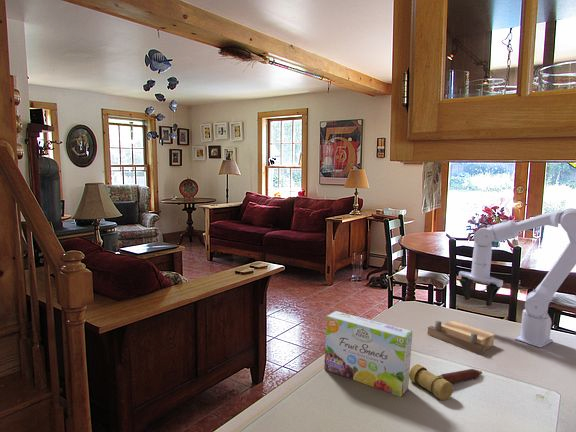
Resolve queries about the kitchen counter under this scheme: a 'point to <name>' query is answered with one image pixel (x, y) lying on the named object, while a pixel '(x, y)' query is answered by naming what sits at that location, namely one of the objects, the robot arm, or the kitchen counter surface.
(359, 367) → the snack box
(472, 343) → the bar
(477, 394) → the kitchen counter surface
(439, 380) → the gavel
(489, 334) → the wooden block
